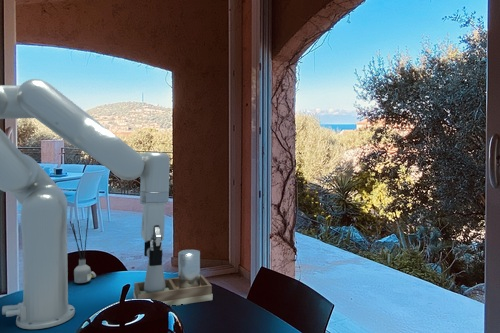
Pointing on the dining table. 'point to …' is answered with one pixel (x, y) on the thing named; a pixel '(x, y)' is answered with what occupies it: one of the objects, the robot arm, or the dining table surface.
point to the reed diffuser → (82, 263)
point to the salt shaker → (154, 278)
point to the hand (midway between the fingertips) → (152, 260)
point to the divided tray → (176, 292)
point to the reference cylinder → (188, 268)
